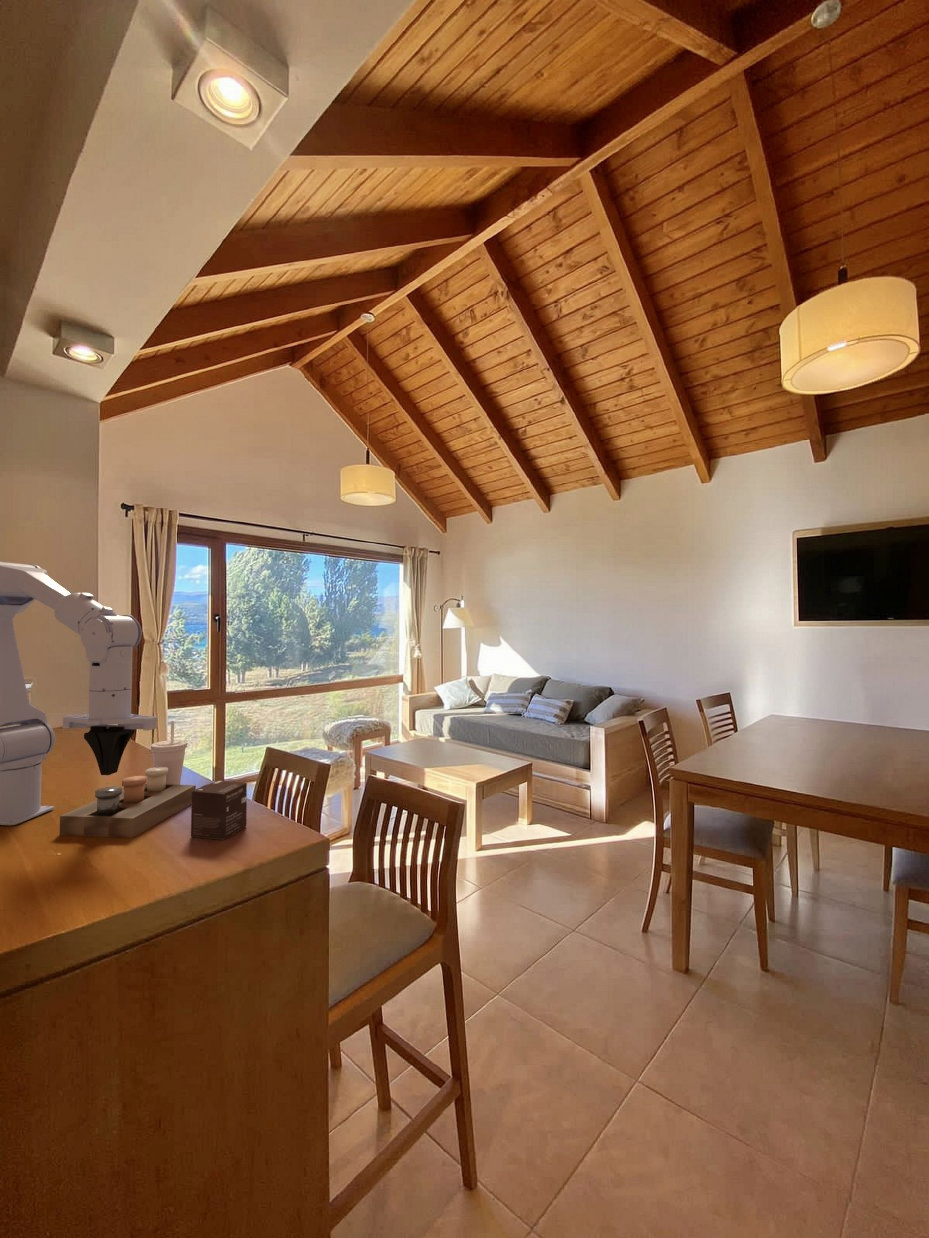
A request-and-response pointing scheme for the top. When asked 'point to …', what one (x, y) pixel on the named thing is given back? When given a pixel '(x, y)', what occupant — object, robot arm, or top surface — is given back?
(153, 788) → the plug cream
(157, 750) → the smoothie
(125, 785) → the plug terracotta
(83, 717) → the robot arm
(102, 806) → the plug metal
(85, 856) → the top surface
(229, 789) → the box
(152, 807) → the socket board
